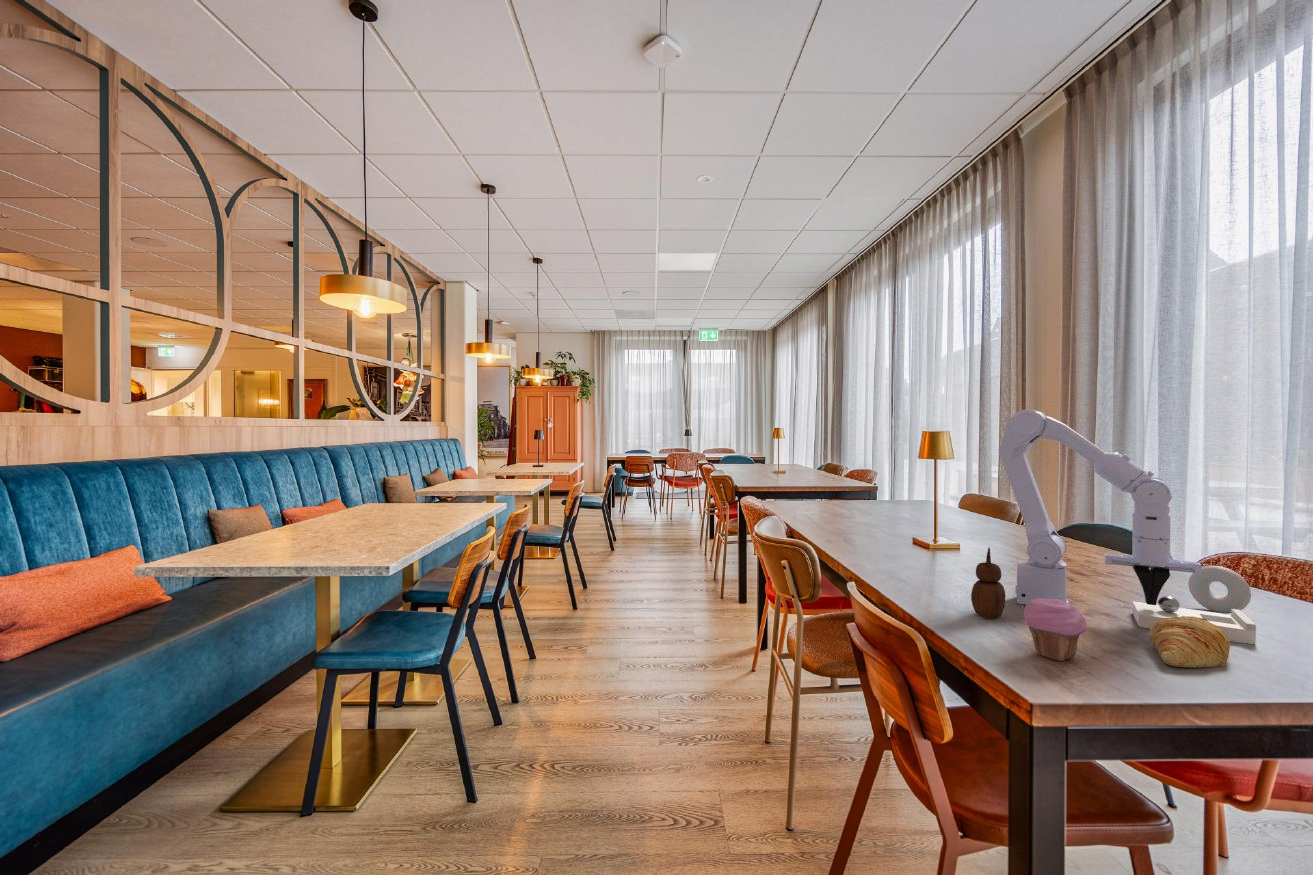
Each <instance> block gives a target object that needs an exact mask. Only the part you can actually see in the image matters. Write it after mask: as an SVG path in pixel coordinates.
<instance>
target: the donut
mask: <svg viewBox="0 0 1313 875" xmlns="http://www.w3.org/2000/svg"><path fill="white" fill-rule="evenodd" d="M1215 582H1219V583H1221V584H1222V585H1224V586H1225V587H1226V589H1227V594H1226V595H1225V596H1223V597H1221V596H1217V595H1215V594H1214V593H1213V592H1212V590H1211V588H1210V587H1211V584H1212V583H1215ZM1187 583H1188V584H1187V585H1188V589H1189V592H1190V594H1191V596H1192V598H1193V599H1194V600H1195V601H1196V602H1197V603H1198V604H1199V605H1201V606H1202V607H1204V608H1206V609H1207V610H1209V611H1210V612H1214V613H1222V614H1229V615H1230V614H1231V609H1237V610H1241V611H1242V610H1244V609H1246V608H1247V607H1248V605H1249V604H1250V602H1251V598H1252V593H1251V588H1250V585H1249V584H1248V583H1247V580H1246V579H1244V578H1243V577H1242V575H1240V574H1239V573H1238V572H1236V571H1234V570H1232V569H1231V568H1227V567H1224V566H1221V565H1206V566H1201V574H1194V573H1191V575H1190V576H1189V578H1188V582H1187Z"/></svg>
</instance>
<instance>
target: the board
mask: <svg viewBox="0 0 1313 875" xmlns="http://www.w3.org/2000/svg"><path fill="white" fill-rule="evenodd" d="M1132 615H1133V616H1134V619H1135V621H1136V624H1137V626H1138V628H1145V629H1150V628H1151V627H1152V626H1153V625H1154V624H1156V623H1157V622H1158V621H1161V620H1163V619H1166V618H1172V617H1182V616H1188V617H1197V618H1203V619H1206V620H1207V621H1208V622H1210V623H1212V624H1214V625H1216V626H1217V627H1219V628H1220V629H1221V630H1222V631H1223V632H1224V633H1225V634H1226V636H1227V638H1228V640H1229V642H1234V641H1235V642H1234V643H1240V644H1246V643H1248V644H1247V645H1253V644H1254V646H1256V645H1257V644H1256V643H1257V642H1256V639H1257V638H1256V636H1257V633H1256V632H1257V631H1256V630H1257V629H1256V628H1257V624H1256V623H1255V622H1253V621H1252V620H1251V619H1250V617H1248V616H1247V615H1246V614H1245V613H1244V612H1243V611H1242V610H1237V609H1231V613H1229V614H1226V613H1218V612H1214V611H1206V610H1201V609H1200V610H1198V609H1191V608H1185V607H1180V608H1179V610H1178V611H1176V612H1173V613H1169V612H1165V611H1163V610H1162V609H1161V608H1160V607H1159V605H1158V604H1156V605H1148V604H1146V602H1140V601H1132Z"/></svg>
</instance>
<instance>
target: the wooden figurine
mask: <svg viewBox="0 0 1313 875" xmlns="http://www.w3.org/2000/svg"><path fill="white" fill-rule="evenodd" d="M975 576H976V578H977V579H978V580H977V581H975V583H974V584H973V585H972V589H971V594H970V598H971V599H970V600H971V604H972V608H973V610H974V612H975V614H976V615H977V616H978V617H981V618H983V617H984V618H983V619H988V620H994V619H995V620H996V619H1000V618H1001V617H1002V615H1003V613H1004V610H1005V607H1006V590H1005V587H1004V585H1003V584H1002V582H1000V580H1001V579H1002V570H1001V567H1000V566H999V565H998V564H996V563H992V560H991V547H989V546H988V547H987V552H986V557H985V562H979V563H978V564H977V565H976V568H975Z"/></svg>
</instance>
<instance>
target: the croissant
mask: <svg viewBox="0 0 1313 875" xmlns="http://www.w3.org/2000/svg"><path fill="white" fill-rule="evenodd" d="M1149 637H1150V639H1151V640H1152V641H1151V642H1152V643H1151V644H1152V646H1153V647H1154V648H1155V649H1156V650H1157V653H1158V655H1159V656H1160V657H1161V659H1162V661H1163V662H1164V663H1165V665H1169V666H1172V667H1179V668H1193V669H1195V668H1196V669H1197V668H1213V667H1218V666H1219V667H1222V666H1226V664H1227V662H1228V659H1229V655H1230V649H1231V643H1230V641H1229V640H1228V638H1227V636H1226V634H1225V633H1224V632H1223V631H1222V630H1221V629H1220V628H1219V627H1217V626H1216V625H1214V624H1212V623H1210V622H1208V621H1207V620H1206V619H1203V618H1197V617H1188V616H1182V617H1172V618H1166V619H1163V620H1161V621H1158V622H1157V623H1156V624H1154V625H1153V626H1152V627H1151V628H1149Z"/></svg>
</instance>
